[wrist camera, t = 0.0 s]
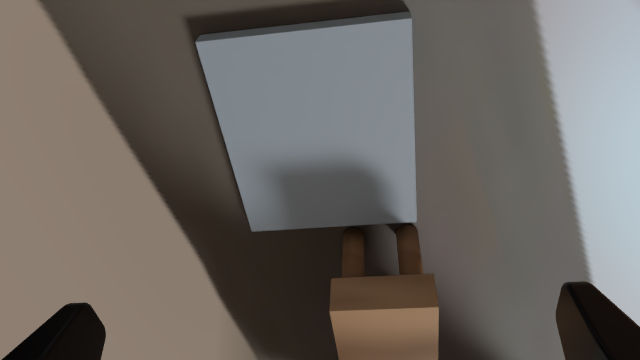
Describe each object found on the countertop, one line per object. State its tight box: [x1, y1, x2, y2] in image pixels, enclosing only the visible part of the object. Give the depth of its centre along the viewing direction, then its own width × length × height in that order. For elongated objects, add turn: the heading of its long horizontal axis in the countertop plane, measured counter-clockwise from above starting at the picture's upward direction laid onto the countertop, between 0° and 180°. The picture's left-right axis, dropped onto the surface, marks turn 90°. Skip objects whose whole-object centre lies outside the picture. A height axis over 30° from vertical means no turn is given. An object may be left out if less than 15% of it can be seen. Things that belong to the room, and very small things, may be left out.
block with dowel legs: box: [329, 225, 439, 360], centre depth 28 cm, size 8×5×6 cm, turn 8°
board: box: [195, 11, 417, 232], centre depth 24 cm, size 11×9×1 cm
